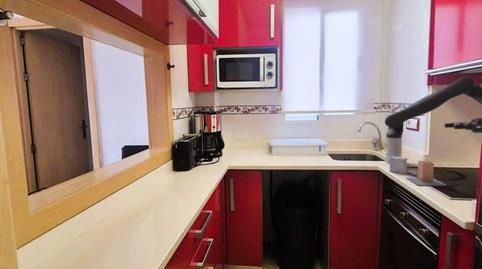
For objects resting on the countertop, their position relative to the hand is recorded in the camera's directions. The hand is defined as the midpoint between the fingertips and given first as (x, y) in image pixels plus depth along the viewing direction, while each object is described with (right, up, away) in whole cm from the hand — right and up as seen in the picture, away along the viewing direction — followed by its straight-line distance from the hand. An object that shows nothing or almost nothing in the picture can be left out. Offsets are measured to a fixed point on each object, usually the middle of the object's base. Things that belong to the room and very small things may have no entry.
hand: (449, 126), depth 143 cm
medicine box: (-16, -27, +20) cm, 37 cm away
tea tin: (-14, -28, -2) cm, 32 cm away
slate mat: (-14, -29, -2) cm, 32 cm away
